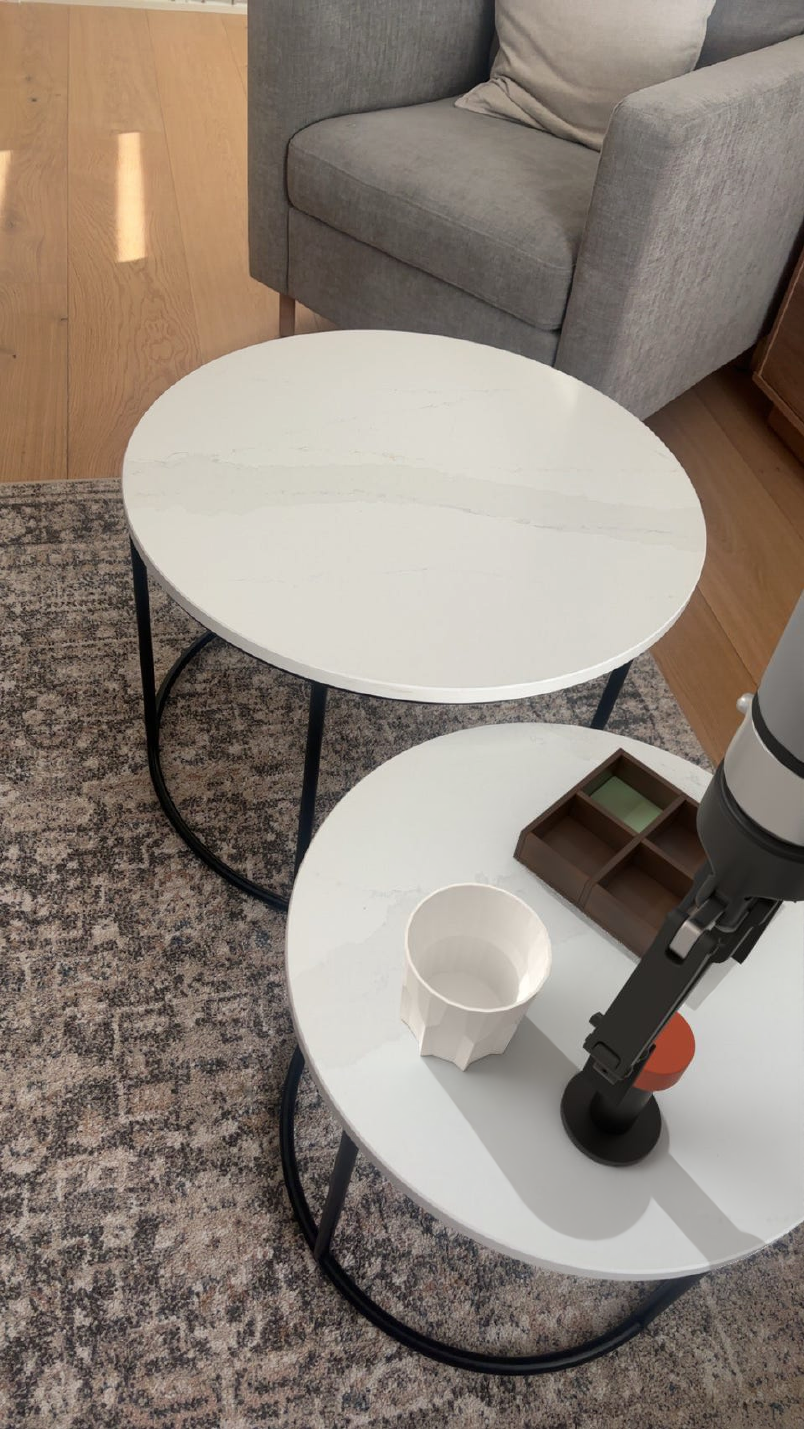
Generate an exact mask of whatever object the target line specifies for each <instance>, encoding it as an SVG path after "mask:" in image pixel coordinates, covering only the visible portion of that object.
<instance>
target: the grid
mask: <svg viewBox="0 0 804 1429" xmlns="http://www.w3.org/2000/svg"><path fill="white" fill-rule="evenodd" d="M699 804H700V802H699V801H698V800H696V799H694V798H693V797H692V796H691V795H689V794H687V793H686V792H684V791H683V790H682V789H680V788H679V787H678V786H676V785H675V784H673V783H672V782H671V781H669V780H668V779H666V778H665V777H664V776H662V775H661V774H659V773H658V772H656V771H655V770H654V769H652V768H651V767H649V766H648V765H646V764H645V763H644V762H642V760H641V761H640V760H639V759H638V758H636V757H635V756H634V755H632V754H630V753H629V752H628V751H626V750H625V749H624V748H622V747H619V748H618V749H616V751H614V752H613V753H612V754H610V755H609V756H608V757H607V758H605V760H603V761H602V762H601V763H600V764H599V765H598V766H596V767H595V768H594V769H593V770H592V771H591V772H589V773H588V774H587V775H586V776H585V777H583V778H582V779H580V781H578V782H577V783H576V784H575V785H574V786H572V788H570V789H569V790H568V791H566V793H564V794H563V795H562V796H561V797H559V798H558V799H557V800H556V801H555V802H554V803H553V804H551V805H550V806H548V808H546V809H545V810H544V811H543V812H542V813H541V814H539V815H538V816H537V817H535V818H534V819H533V820H532V821H531V822H530V823H528V824H527V825H526V826H524V828H522V829H521V830H520V831H519V836H518V839H517V842H516V846H515V849H514V852H513V855H512V857H513V858H514V859H516V860H517V862H519V863H520V864H522V865H523V866H524V867H525V868H527V870H529V871H530V872H532V873H533V874H534V875H535V876H537V877H538V878H539V879H540V880H542V881H543V882H544V883H545V884H547V885H548V886H549V887H550V888H552V889H553V890H554V891H556V892H557V893H558V894H559V895H560V896H561V897H563V898H564V899H565V900H566V901H568V902H569V903H571V904H572V905H573V906H574V907H575V908H576V909H578V910H579V911H581V912H582V913H583V914H584V915H585V916H586V917H588V918H589V919H591V920H592V921H593V922H594V923H595V924H596V925H598V926H599V927H600V928H602V929H603V930H604V931H606V932H607V933H608V934H609V935H610V936H612V937H613V938H614V939H615V940H617V941H618V942H619V943H620V944H622V945H623V946H624V947H625V948H627V949H628V950H629V951H631V952H632V954H634V955H636V956H637V957H638V958H639V959H640V960H641V959H642V958H643V956H644V955H645V953H646V952H647V950H648V949H649V947H650V946H651V944H652V943H653V941H654V939H655V938H656V936H657V934H658V932H659V931H660V929H661V927H662V925H663V924H664V922H665V920H666V918H665V917H666V915H667V914H668V913H669V911H670V910H673V909H674V908H675V907H677V906H679V904H680V903H681V901H682V900H683V899H684V897H685V896H686V895H687V893H688V892H689V890H690V889H691V888H692V886H693V884H694V876H695V874H696V872H697V871H698V869H699V868H700V867H701V865H702V864H703V863H704V861H705V860H706V859H707V858H708V856H707V854H706V852H705V850H704V848H703V846H702V843H701V841H700V838H699V835H698V830H697V812H698V807H699ZM697 910H698V908H697V906H696V905H695V906H694V907H693V909H692V910H691V911H690V914H689V915H690V916H692V915H693V914H694V913H695V912H696V911H697Z"/></svg>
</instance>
